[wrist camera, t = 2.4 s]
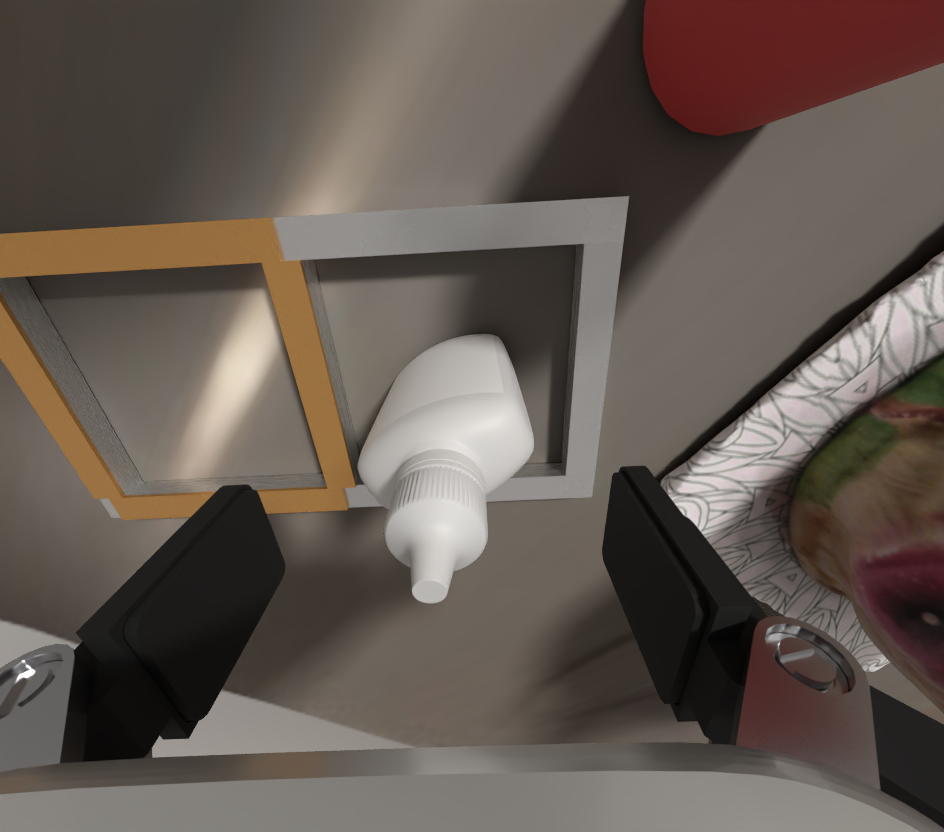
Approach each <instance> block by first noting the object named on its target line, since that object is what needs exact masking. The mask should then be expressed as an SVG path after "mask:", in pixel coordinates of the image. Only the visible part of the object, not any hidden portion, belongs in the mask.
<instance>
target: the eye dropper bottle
mask: <svg viewBox="0 0 944 832" xmlns="http://www.w3.org/2000/svg"><path fill="white" fill-rule="evenodd" d="M533 449H534V439H533V432H532V429H531V425H530V421H529V417H528V414H527V410H526V407H525V404H524V400H523V397H522V393H521V390H520V387H519V384H518V380H517V377H516V374H515V370H514V367H513V365H512V362H511V360H510V357H509V355H508V353H507V350H506V348H505V346H504V344H503V342H502V340H501V339H500V338H499V337H498V336H495V335H492V334H474V335H466V336H461V337H456V338H453V339H449V340H446V341H444V342H441V343H439V344H437V345H435V346H433V347H431V348H429V349H427V350H426V351H424V352H423V353H421V354H420V355H418V356H417V357H416V358H415V359H413V360H412V361H411V362H410V363H409V364H408V365H407V366H406V367H405V368H404V369H403V370H402V371H401V372H400V373H399V375H398V376H397V377H396V379H395V381H394V383H393V385H392V387H391V389H390V391H389V393H388V395H387V397H386V399H385V401H384V403H383V406H382V408H381V410H380V412H379V414H378V416H377V418H376V420H375V422H374V424H373V426H372V429H371V431H370V433H369V435H368V437H367V439H366V442H365V444H364V446H363V449H362V451H361V454H360V457H359V461H358V465H357V467H358V471H359V475H360V477H361V479H362V481H363V483H364V484H365V486H366V487H367V489H368V490H369V492H370V493H371V494H372V495H373V497H374V498H375V499H376V500H377V501H378V502H379V504H381V505H382V506H383V507H385V508H386V509H389V510H388V514H387V517H386V521H385V524H384V529H383V530H384V533H383V534H384V539H385V543H386V544H387V547H388V548H389V551H390V552H391V553H392V554H393V555H394V557H395V558H397V559H398V560H399V561H400V562H402V563H403V564H404V565H406V566H408V567H410V568H411V584H412V594H413V596H414V597H415V598H416V599H417V600H419V601H421V602H423V603H437V602H440V601H442V600H443V599H444V598H445V597H446V595H447V592H448V589H449V585H450V582H451V578H452V574H453V571H456V570H459V569H462V568H464V567H466V566H468V565H469V564H471V563H472V562H474V561H475V560H476V559H477V558H478V557H479V556H480V555H481V554H482V552H483V551H484V548H485V547H486V543H487V539H488V527H487V510H486V496H487V495H489V494H490V493H491V492H493V491H494V490H496V489H497V488H499V487H500V486H501V485H502V484H504V483H505V482H506V481H507V480H508V479H510V478H511V477H512V476H513V475H514V474H515V473H516V472H517V471H518V470H519V469H520V468H521V467H522V466H523V465H524V464H525V463H526V462H527V460H528V459H529V458H530V456H531V454H532V452H533Z"/></svg>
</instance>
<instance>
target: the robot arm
mask: <svg viewBox="0 0 944 832" xmlns="http://www.w3.org/2000/svg"><path fill="white" fill-rule="evenodd" d="M602 555H603V560H604V563H605V566H606V568H607V571H608V573H609V576H610V578H611V581H612V583H613V585H614V588H615V590H616V593H617V595H618V598H619V600H620V602H621V605H622V607H623V610H624V612H625V615H626V617H627V619H628V622H629V624H630V627H631V629H632V632H633V634H634V636H635V639H636V641H637V644H638V646H639V649H640V651H641V653H642V656H643V658H644V661H645V663H646V666H647V668H648V670H649V673H650V675H651V678H652V680H653V683H654V685H655V687H656V690H657V692H658V694H659V697H660V698H661V700H662V701H663V702H664V703H665V704H671V707H672V709H673V711H674V714H675V716H676V718H677V721H678V722H684V721H698V723H699V725H700V727H701V729H702V732H703V734H704V735H705V736H706V737H707V738H709V742H708V744H703V743H683V742H671V743H576V744H540V745H504V746H468V747H435V748H405V749H375V750H344V751H316V752H286V753H260V754H236V755H210V756H186V757H159V758H152V747H153V745H154V743H155V742H156V740H157V739H158V737H159V735H160V736H161V737H162V739H188V738H189V737H190V735H191V734H192V732H193V730H194V728H195V726H196V725H197V723H198V721H199V720H201V719H203V718H204V717H205V716H206V715H207V714H208V712H209V711H210V709H211V708H212V705H213V704H214V702H215V700H216V698H217V697H218V695H219V693H220V691H221V689H222V687H223V686H224V684H225V682H226V680H227V678H228V677H229V675H230V673H231V671H232V669H233V667H234V666H235V664H236V662H237V660H238V658H239V656H240V655H241V653H242V651H243V649H244V647H245V646H246V644H247V642H248V640H249V638H250V636H251V635H252V633H253V631H254V629H255V627H256V625H257V624H258V622H259V620H260V618H261V616H262V615H263V613H264V611H265V609H266V607H267V605H268V604H269V602H270V600H271V598H272V596H273V594H274V593H275V591H276V589H277V587H278V585H279V584H280V582H281V580H282V578H283V576H284V573H285V562H284V559H283V556H282V554H281V551H280V549H279V546H278V543H277V541H276V538H275V535H274V533H273V530H272V528H271V525H270V522H269V520H268V517H267V514H266V512H265V509H264V507H263V504H262V501H261V499H260V496H259V494H258V492H257V491H256V490H253V489H252V487H250V486H249V485H246V484H243V485H225V486H222V487H221V488H219V489H218V490H217V491H216V492H215V493H214V494H213V495H212V496H211V497H210V498H209V499H208V500H207V501H206V502H205V503H204V504H203V505H202V506H201V507H200V508H199V509H198V510H197V511H196V512H195V513H194V514H193V515H192V516H191V517H190V518H189V519H188V520H187V521H186V522H185V523H184V524H183V525H182V526H181V527H180V528H179V529H178V530H177V531H176V532H175V533H174V534H173V535H172V536H171V537H170V538H169V539H168V540H167V541H166V542H165V543H164V544H163V545H162V546H161V547H160V548H159V549H158V550H157V551H156V552H155V553H154V555H153V556H152V557H151V558H150V559H149V560H148V561H147V562H146V563H145V564H144V565H143V566H142V567H141V568H140V569H139V570H138V571H137V572H136V573H135V574H134V575H133V576H132V577H131V578H130V579H129V580H128V581H127V582H126V583H125V584H124V585H123V586H122V587H121V588H120V589H119V590H118V591H117V592H116V593H115V594H114V595H113V596H112V597H111V598H110V599H109V600H108V601H107V602H106V603H105V604H104V605H103V606H102V607H101V608H100V609H99V610H98V611H97V612H96V613H95V614H94V615H93V616H92V617H91V618H90V619H89V620H88V621H87V622H86V623H85V624H84V625H83V626H82V627H81V628H80V629H79V630H78V631H77V632H76V634H77V635H78V636H79V637H80V639H81V640H82V641H83V642H82V643H81V644H80V645H79V646H78V647H77V648H76V649H75V650H74V649H72V648H71V647H70V646H68V645H63V644H55V645H51V646H46V647H42V648H39V649H37V650H34V651H32V652H29V653H27V654H24V655H23V656H21V657H19V658H17V659H15V660H13V661H12V662H10V663H8V664H6V665H5V666H3V667H2V668H0V832H944V725H943V724H941V723H939V722H938V721H936V720H934V719H932V718H930V717H928V716H926V715H924V714H923V713H921V712H919V711H917V710H915V709H913V708H911V707H909V706H907V705H906V704H904V703H902V702H900V701H898V700H896V699H894V698H892V697H891V696H889V695H887V694H885V693H883V692H881V691H879V690H877V689H875V688H874V687H872V686H870V685H869V682H868V679H867V676H866V673H865V671H864V670H863V668H862V667H861V665H860V664H859V662H858V661H857V659H856V658H855V657H854V656H853V655H852V654H851V653H850V652H849V651H848V650H847V649H846V648H845V647H844V646H843V645H842V644H841V643H839V642H838V641H837V640H835V639H834V638H833V637H831V636H830V635H828V634H827V633H826V632H824V631H822V630H820V629H818V628H816V627H815V626H813V625H811V624H809V623H806V622H803V621H800V620H797V619H795V618H791V617H784V616H772V617H767V616H766V615H765V613H764V612H763V611H762V609H761V608H760V607H759V606H758V604H757V603H756V602H755V601H754V599H753V598H752V597H751V595H750V594H749V593H748V592H747V590H746V589H745V588H744V586H743V585H742V584H741V583H740V581H739V580H738V579H737V578H736V576H735V575H734V574H733V572H732V571H731V570H730V569H729V567H728V566H727V565H726V563H725V562H724V561H723V560H722V558H721V557H720V556H719V555H718V553H717V552H716V551H715V549H714V548H713V547H712V546H711V544H710V543H709V542H708V540H707V539H706V538H705V537H704V535H703V534H702V533H701V532H700V530H699V529H698V528H697V526H696V525H695V524H694V523H693V522H692V521H691V520H690V519H689V518H688V517H685V516H684V515H683V514H682V512H681V511H680V510H679V508H678V507H677V506H676V505H675V503H674V502H673V501H672V499H671V498H670V497H669V495H668V494H667V493H666V492H665V490H664V489H663V488H662V486H661V485H660V484H659V482H658V481H657V480H656V478H655V477H654V476H653V475H652V473H651V472H650V471H649V469H648V468H647V467H646V466H626V467H621V468H620V470H619V472H618V473H614V474H613V476H612V482H611V489H610V496H609V504H608V511H607V518H606V525H605V533H604V540H603V547H602Z"/></svg>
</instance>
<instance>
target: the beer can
mask: <svg viewBox="0 0 944 832" xmlns="http://www.w3.org/2000/svg"><path fill="white" fill-rule="evenodd" d="M643 55H644V60H645V64H646V68H647V73H648V77H649V81H650V86H651V89H652V90H653V92H654V93H655V95H656V97H657V98H658V100H659V102H660V103H661V105H662V106H663V108H664V110H665V111H666V113H667V114H668V115H669V116H670V117H672V118H673V119H675V120H676V121H677V122H679V123H680V124H682V125H683V126H684V127H686V128H687V129H689V130H690V131H694V132H699V133H704V134H709V135H714V136H721V135H726V134H731V133H737V132H742V131H747V130H750V129H753V128H756V127H759V126H762V125H765V124H767V123H770V122H773V121H776V120H779V119H782V118H785V117H788V116H791V115H793V114H796V113H799V112H802V111H805V110H808V109H811V108H814V107H817V106H819V105H822V104H825V103H828V102H831V101H834V100H837V99H840V98H843V97H845V96H848V95H851V94H854V93H857V92H860V91H863V90H866V89H869V88H872V87H874V86H877V85H880V84H883V83H886V82H889V81H892V80H895V79H898V78H900V77H903V76H906V75H909V74H912V73H915V72H918V71H921V70H924V69H926V68H929V67H932V66H935V65H938V64H941V63H944V0H646V3H645V7H644V31H643Z"/></svg>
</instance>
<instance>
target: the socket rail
mask: <svg viewBox="0 0 944 832" xmlns="http://www.w3.org/2000/svg"><path fill="white" fill-rule="evenodd" d="M628 201H629V196H623V197H606V198H590V199H573V200H557V201H540V202H524V203H507V204H491V205H474V206H458V207H441V208H424V209H408V210H391V211H375V212H358V213H342V214H325V215H309V216H292V217H275V218H255V219H238V220H222V221H205V222H188V223H172V224H155V225H139V226H122V227H106V228H89V229H73V230H56V231H40V232H23V233H6V234H0V358H1V360H2V361H3V363H4V364H5V366H6V367H7V369H8V370H9V372H10V373H11V375H12V376H13V378H14V379H15V381H16V382H17V384H18V385H19V387H20V388H21V390H22V391H23V393H24V394H25V396H26V397H27V399H28V400H29V402H30V403H31V405H32V406H33V408H34V409H35V411H36V412H37V414H38V415H39V417H40V418H41V420H42V421H43V423H44V424H45V426H46V427H47V429H48V430H49V432H50V433H51V435H52V436H53V438H54V439H55V441H56V442H57V443H58V445H59V446H60V448H61V449H62V451H63V452H64V454H65V455H66V457H67V458H68V460H69V461H70V463H71V464H72V466H73V467H74V469H75V470H76V472H77V473H78V475H79V476H80V478H81V479H82V481H83V482H84V484H85V485H86V487H87V488H88V490H89V491H90V493H91V494H92V496H93V497H94V499H100V500H101V502H102V503H103V505H104V506H105V508H106V509H107V511H108V512H109V514H110V516H111V517H112V518H121V519H122V520H132V519H155V518H178V517H191V516H192V515H193V514H194V513H195V512H196V511H197V510H198V509H199V508H200V507H201V506H202V505H203V504H204V503H205V502H206V501H207V500H208V499H209V498H210V497H211V496H212V495H213V494H214V493H215V492H216V491H217V490H218V489H219V488H221V487H222V486H225V485H243V484H246V485H249V486H250V487H252V489H253V490H256V491H257V492H258V494H259V496H260V499H261V501H262V504H263V507H264V509H265V512H266V514H270V513H293V512H316V511H339V510H348V508H352V507H375V506H382V505H381V504H379V502H378V501H377V500H376V499H375V498H374V497H373V495H372V494H371V493H370V492H369V490H368V489H367V487H366V486H365V484H364V483H363V481H362V479H361V477H360V475H359V471H358V467H357V465H358V461H359V453H358V449H357V444H356V440H355V436H354V431H353V427H352V423H351V418H350V414H349V410H348V405H347V401H346V397H345V392H344V388H343V384H342V379H341V375H340V371H339V366H338V362H337V358H336V353H335V349H334V345H333V340H332V336H331V332H330V327H329V323H328V319H327V314H326V310H325V306H324V301H323V297H322V293H321V288H320V284H319V280H318V275H317V271H316V267H315V262H314V259H329V258H346V257H364V256H381V255H398V254H415V253H433V252H450V251H467V250H485V249H502V248H519V247H536V246H554V245H571V244H576V255H575V269H574V283H573V297H572V311H571V326H570V340H569V354H568V368H567V382H566V397H565V411H564V425H563V439H562V454H561V463H541V464H524V465H523V466H522V467H521V468H520V469H519V470H518V471H517V472H516V473H515V474H514V475H513V476H512V477H511V478H510V479H508V480H507V481H506V482H505V483H504V484H502V485H501V486H500V487H499V488H497V489H496V490H494V491H493V492H491V493H490V494H489V495H487V496H486V502H490V501H513V500H536V499H559V498H582V497H592V493H593V485H594V477H595V468H596V460H597V452H598V444H599V436H600V428H601V420H602V412H603V404H604V396H605V387H606V379H607V371H608V363H609V355H610V347H611V339H612V331H613V323H614V315H615V307H616V298H617V290H618V282H619V274H620V266H621V258H622V250H623V242H624V234H625V226H626V218H627V209H628ZM248 263H262V266H263V270H264V273H265V277H266V280H267V284H268V287H269V290H270V294H271V297H272V301H273V304H274V307H275V311H276V314H277V318H278V321H279V325H280V328H281V331H282V335H283V338H284V342H285V345H286V349H287V352H288V355H289V359H290V362H291V366H292V369H293V372H294V376H295V379H296V383H297V386H298V390H299V393H300V396H301V400H302V403H303V407H304V410H305V413H306V417H307V420H308V424H309V427H310V431H311V434H312V437H313V441H314V444H315V448H316V451H317V454H318V458H319V461H320V465H321V468H322V472H323V473H322V474H300V475H278V476H256V477H234V478H212V479H190V480H168V481H146V482H143V481H142V479H141V477H140V475H139V474H138V472H137V470H136V468H135V467H134V465H133V463H132V461H131V460H130V458H129V456H128V454H127V453H126V451H125V449H124V447H123V446H122V444H121V442H120V441H119V439H118V437H117V435H116V434H115V432H114V430H113V428H112V427H111V425H110V423H109V421H108V420H107V418H106V416H105V414H104V413H103V411H102V409H101V407H100V406H99V404H98V402H97V401H96V399H95V397H94V395H93V394H92V392H91V390H90V388H89V387H88V385H87V383H86V381H85V380H84V378H83V376H82V374H81V373H80V371H79V369H78V367H77V366H76V364H75V362H74V361H73V359H72V357H71V355H70V354H69V352H68V350H67V348H66V347H65V345H64V343H63V341H62V340H61V338H60V336H59V334H58V333H57V331H56V329H55V327H54V326H53V324H52V322H51V321H50V319H49V317H48V315H47V314H46V312H45V310H44V308H43V307H42V305H41V303H40V301H39V300H38V298H37V296H36V294H35V293H34V291H33V289H32V287H31V286H30V284H29V282H28V281H27V279H26V277H25V276H41V275H58V274H75V273H93V272H110V271H127V270H144V269H162V268H179V267H196V266H213V265H231V264H248Z"/></svg>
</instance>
